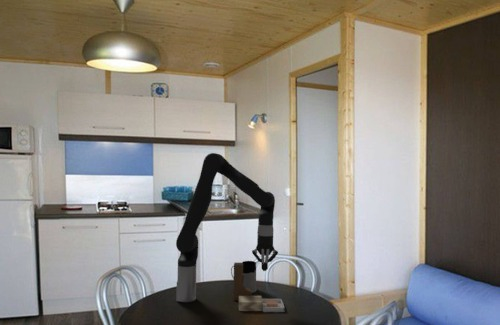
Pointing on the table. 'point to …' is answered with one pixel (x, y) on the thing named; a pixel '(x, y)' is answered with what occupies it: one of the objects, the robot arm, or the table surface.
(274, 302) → the tile
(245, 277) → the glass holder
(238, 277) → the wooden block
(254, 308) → the beige patterned box
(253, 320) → the table surface
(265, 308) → the tray
